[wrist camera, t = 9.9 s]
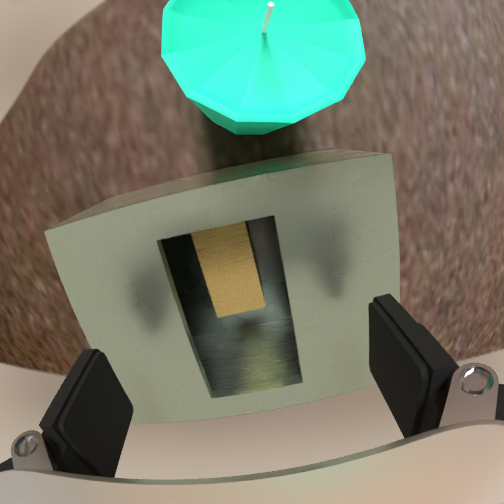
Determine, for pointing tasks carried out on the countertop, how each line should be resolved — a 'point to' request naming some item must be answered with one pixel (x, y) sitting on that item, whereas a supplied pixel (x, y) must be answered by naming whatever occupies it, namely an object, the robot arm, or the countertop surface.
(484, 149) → the countertop surface
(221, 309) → the block
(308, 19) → the candle
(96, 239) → the coin box
